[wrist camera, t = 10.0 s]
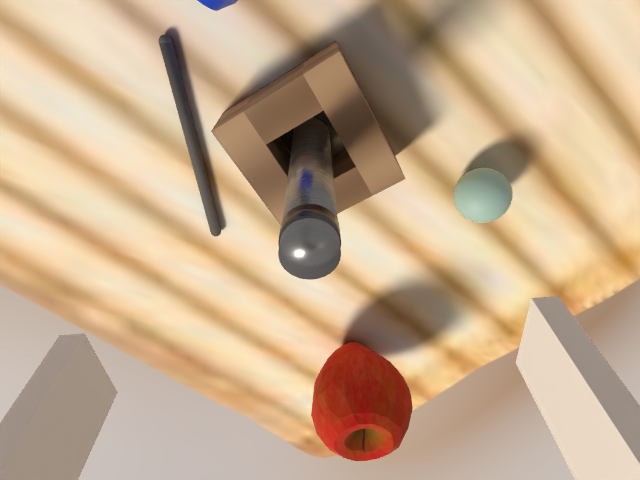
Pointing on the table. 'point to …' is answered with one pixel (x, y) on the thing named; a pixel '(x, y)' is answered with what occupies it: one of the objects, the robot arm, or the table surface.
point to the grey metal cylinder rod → (310, 206)
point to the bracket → (217, 3)
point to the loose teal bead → (482, 195)
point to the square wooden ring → (292, 110)
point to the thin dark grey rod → (189, 131)
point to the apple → (360, 404)
